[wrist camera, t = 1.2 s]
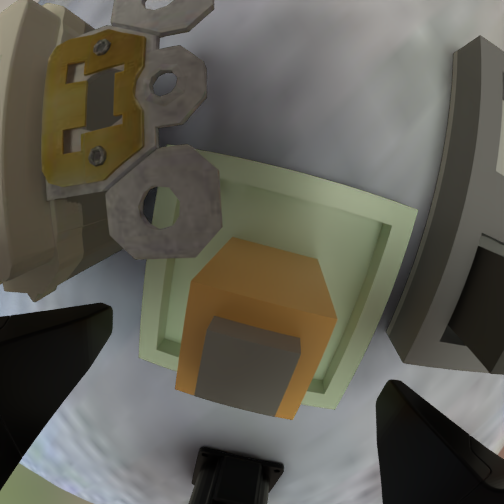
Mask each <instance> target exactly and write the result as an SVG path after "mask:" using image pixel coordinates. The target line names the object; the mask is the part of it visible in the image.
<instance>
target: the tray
mask: <svg viewBox="0 0 504 504" xmlns="http://www.w3.org/2000/svg"><path fill="white" fill-rule="evenodd" d="M167 146H175V145H169V144H167ZM167 146H166V147H167ZM195 150H196V151H197V152H199V153H200V154H201V155H202V156H203V157H204V158H206V159H207V160H208V161H209V162H210V163H211V164H212V165H214V166H215V167H216V168H217V169H218V170H219V175H220V192H221V208H222V224H223V227H222V228H221V229H220V230H219V232H218V233H217V234H216V235H215V236H214V237H213V238H212V240H211V241H210V242H209V243H208V244H207V245H206V246H205V247H204V249H203V250H202V251H201V252H200V253H199V254H198V256H197V257H196V258H170V259H147V260H146V269H145V278H144V287H143V298H142V310H141V324H140V341H139V358H141V359H143V360H146V361H149V362H151V363H154V364H157V365H159V366H162V367H165V368H168V369H171V370H174V371H176V372H177V369H178V362H179V354H180V347H181V340H182V333H183V326H184V320H185V314H186V307H187V301H188V295H189V289H190V283H191V280H192V279H193V278H194V277H195V276H196V275H197V274H198V273H199V272H200V271H201V270H202V268H203V267H204V266H205V265H206V264H207V263H208V262H209V261H210V260H211V259H212V258H213V257H214V256H215V255H216V254H217V252H218V251H219V250H220V249H221V248H222V247H223V246H224V245H225V244H226V243H227V242H228V241H229V240H230V239H231V238H232V237H235V238H239V239H243V240H247V241H251V242H254V243H258V244H262V245H266V246H270V247H273V248H277V249H281V250H285V251H289V252H292V253H296V254H300V255H304V256H308V257H311V258H315V259H318V262H319V265H320V267H321V270H322V273H323V276H324V279H325V282H326V285H327V288H328V291H329V294H330V297H331V300H332V303H333V306H334V309H335V313H336V316H337V319H338V320H337V322H336V325H335V327H334V330H333V332H332V335H331V337H330V340H329V342H328V345H327V347H326V349H325V352H324V354H323V356H322V359H321V361H320V363H319V365H318V368H317V370H316V372H315V374H314V377H313V379H312V381H311V383H310V385H309V387H308V390H307V392H306V394H305V396H304V398H303V400H302V402H301V404H303V405H309V406H314V407H320V408H327V409H334V410H335V408H336V407H337V405H338V403H339V401H340V400H341V398H342V396H343V394H344V392H345V391H346V389H347V387H348V385H349V383H350V381H351V379H352V377H353V375H354V374H355V372H356V370H357V368H358V366H359V364H360V362H361V360H362V358H363V356H364V353H365V351H366V349H367V347H368V345H369V343H370V341H371V339H372V336H373V334H374V332H375V330H376V327H377V325H378V323H379V320H380V318H381V316H382V313H383V311H384V309H385V306H386V304H387V301H388V299H389V296H390V294H391V291H392V288H393V286H394V283H395V280H396V278H397V275H398V272H399V269H400V267H401V264H402V261H403V258H404V255H405V252H406V249H407V246H408V243H409V239H410V236H411V233H412V230H413V226H414V223H415V219H416V216H417V212H418V210H417V209H414V208H411V207H409V206H406V205H403V204H400V203H397V202H395V201H392V200H389V199H386V198H383V197H380V196H377V195H374V194H371V193H368V192H365V191H362V190H359V189H356V188H352V187H349V186H346V185H343V184H339V183H336V182H332V181H329V180H326V179H322V178H319V177H315V176H311V175H308V174H304V173H300V172H297V171H293V170H289V169H285V168H281V167H277V166H273V165H269V164H265V163H260V162H256V161H252V160H247V159H243V158H238V157H234V156H229V155H224V154H219V153H214V152H209V151H204V150H198V149H195ZM179 211H180V201H179V200H178V198H177V197H176V196H175V194H174V193H173V192H172V190H171V189H170V188H169V187H158V189H157V194H156V200H155V206H154V212H153V218H152V224H151V225H153V226H155V227H157V228H159V229H162V228H166V227H170V226H173V225H174V223H175V222H176V220H177V218H178V217H179Z"/></svg>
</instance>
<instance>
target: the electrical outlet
mask: <svg viewBox="0 0 504 504" xmlns="http://www.w3.org/2000/svg"><path fill="white" fill-rule="evenodd" d="M145 2H146V0H114V5H113V11H112V16H111V24H112V26H108V25H106V26H103V27H101V28H98V29H94V28H93V27H91V26H90V25H89V24H87V23H86V22H85V21H83V20H82V19H80V18H79V17H78V16H76V15H75V14H73V13H72V12H71V11H69V10H68V9H66V8H65V7H63V6H60V5H55V4H51V3H46V4H44V5H42V6H41V5H39V4H38V3H36V2H34V1H33V0H18V1H16V2H15V3H13V4H12V5H10V6H9V7H8V8H6V9H5V10H4V11H3V12H1V13H0V284H2V283H3V287H4V291H7V292H20V293H28V295H29V296H30V298H31V299H32V301H33V302H37V301H38V300H40V299H42V298H43V297H45V296H46V295H48V294H50V293H51V292H53V291H55V290H56V288H57V285H59V284H61V283H63V282H64V281H66V280H68V279H69V278H71V277H73V276H75V275H76V274H78V273H80V272H82V271H84V270H85V269H87V268H89V267H91V266H93V265H94V264H96V263H98V262H100V261H102V260H104V259H106V258H107V257H109V256H111V255H113V254H115V253H117V252H119V251H121V250H122V249H125V250H126V251H127V252H128V253H129V254H130V255H131V256H132V257H133V258H134V259H135V260H139V259H170V258H196V257H197V256H198V254H199V253H200V252H201V251H202V250H203V249H204V247H205V246H206V245H207V244H208V243H209V242H210V241H211V240H212V238H213V237H214V236H215V235H216V234H217V233H218V232H219V230H220V229H221V228H222V227H223V224H222V208H221V192H220V175H219V170H218V169H217V168H216V167H215V166H214V165H212V164H211V163H210V162H209V161H208V160H207V159H206V158H204V157H203V156H202V155H201V154H200V153H199V152H197V151H196V150H195V149H194V148H193V147H192V146H191V145H188V144H183V145H175V146H167V147H160V148H159V132H158V128H164V127H170V126H177V125H183V124H184V123H185V122H186V121H187V120H188V118H189V117H190V116H191V115H192V114H193V113H194V111H195V110H196V109H197V108H198V107H199V106H200V105H201V104H202V103H203V101H204V100H205V99H206V98H207V68H206V66H205V64H204V62H203V61H202V60H201V59H199V58H198V57H196V56H195V55H194V54H192V53H191V52H189V51H188V50H186V49H185V48H183V47H182V46H180V45H178V46H172V47H167V48H162V49H159V43H160V38H161V37H165V36H170V35H175V34H180V33H185V32H189V31H190V30H191V29H192V28H194V27H195V26H196V25H197V24H198V23H199V22H200V21H201V20H203V19H204V18H205V17H206V16H207V15H208V14H209V13H211V12H212V11H213V10H214V0H174V1H173V2H171V3H170V4H168V5H167V6H165V7H162V8H159V9H156V10H151V9H146V8H145ZM165 73H174V74H175V75H176V76H177V83H176V86H175V88H174V89H173V90H172V92H171V93H168V94H166V95H163V96H157V95H155V94H154V90H153V85H154V83H155V81H156V80H157V78H158V77H159V76H161V75H163V74H165ZM157 186H158V187H169V188H170V189H171V190H172V192H173V193H174V194H175V196H176V197H177V198H178V200H179V201H180V211H179V217H178V218H177V220H176V222H175V223H174V225H173V226H170V227H166V228H162V229H159V228H157V227H155V226H153V225H151V224H150V223H149V222H148V220H147V218H146V217H145V215H144V214H143V200H144V199H145V197H146V195H147V193H148V192H149V190H150V189H152V188H155V187H157Z"/></svg>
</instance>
